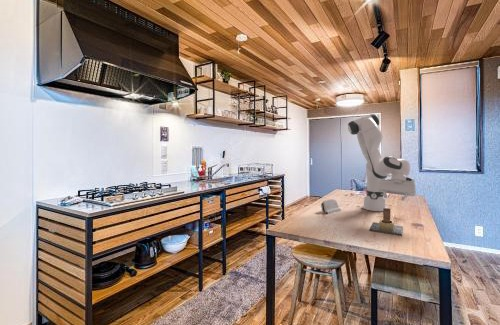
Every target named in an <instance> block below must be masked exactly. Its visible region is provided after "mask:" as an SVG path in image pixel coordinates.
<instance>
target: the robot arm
mask: <svg viewBox="0 0 500 325" xmlns="http://www.w3.org/2000/svg"><path fill="white" fill-rule="evenodd" d="M379 125H380V119H379V117H378V115H377V114H376V113H373V114H372V113H371V114H368V115H365V116H361V117H359V118H357V119H354V120H352V121H350V122H348V123H347V130H348V132H349V133H350V134H351V135H356V138H357V142H358V144H359V145H358V146H359V147H360V151H361V152H362V155H363V156H364V159H365V160H366V164H365V167H366V168H365V170H366V173H365V174H366V183H367V184H366V191H365V193H366V196H365V197H363V205H361V206H360V208H361V209H364V210H367V211H372V212H383V208H388V207H387V203H386V202H387V201H386V199H388V194H393V195H400V196H401V198H400V199H401V201H403V202H405V199H407V198H408V197H414V196H416V182H415V180H414V178H412V177H409V174H410V168H411V164H410V162H409V161H408V160H407V159H405V158H397V157H396V158H395V157H394V156H390V155H388V156H384V158H383V157H382V155H381V153H380V150H379V147H380V146H381V145H380V144H381V143H382V140H383V134H382V131H381V129H380V127H379ZM390 175H391V177H390V179H386V178H387V177H388V176H390Z"/></svg>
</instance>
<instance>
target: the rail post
mask: <svg viewBox="0 0 500 325" xmlns="http://www.w3.org/2000/svg"><path fill="white" fill-rule="evenodd" d="M382 214H383V216H382V217H383V218H382V220H383V222H384V223H390V221H391V208H390V207H389V208H388V207H387V208H383V211H382Z"/></svg>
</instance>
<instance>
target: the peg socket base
mask: <svg viewBox="0 0 500 325" xmlns="http://www.w3.org/2000/svg"><path fill="white" fill-rule="evenodd" d="M403 229H404V226H403V225H397V224H395V221H394V220H390V223H384V222H383V218H382V219H379V222H376V221H375V222H372V224H371V225H370V228H369V232H373V233H381V234H389V235H394V236H399V237H400V236H401V237H402V236H403V231H404V230H403Z"/></svg>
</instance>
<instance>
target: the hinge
mask: <svg viewBox="0 0 500 325" xmlns="http://www.w3.org/2000/svg"><path fill="white" fill-rule="evenodd" d="M320 207H321V212H322V214H325V213H327V215H330V214H335V213H338V212H341V211H342V210H341V208H340V207H339V205H338V201H337V199H334V198H331V199H330V198H329V199H326V200H324V201H322V202H321V203H320ZM337 211H338V212H337ZM334 212H335V213H334Z"/></svg>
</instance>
